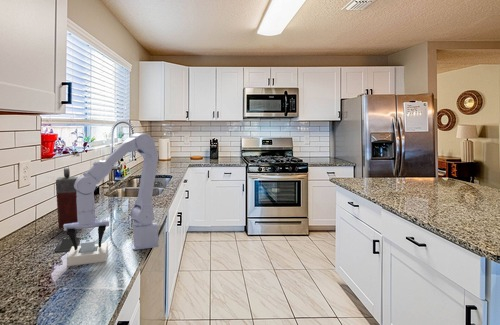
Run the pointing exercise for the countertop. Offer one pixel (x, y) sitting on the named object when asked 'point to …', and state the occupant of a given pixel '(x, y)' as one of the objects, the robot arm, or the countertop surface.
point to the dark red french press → (66, 199)
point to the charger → (87, 246)
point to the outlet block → (87, 255)
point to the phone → (65, 245)
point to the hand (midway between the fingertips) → (88, 247)
